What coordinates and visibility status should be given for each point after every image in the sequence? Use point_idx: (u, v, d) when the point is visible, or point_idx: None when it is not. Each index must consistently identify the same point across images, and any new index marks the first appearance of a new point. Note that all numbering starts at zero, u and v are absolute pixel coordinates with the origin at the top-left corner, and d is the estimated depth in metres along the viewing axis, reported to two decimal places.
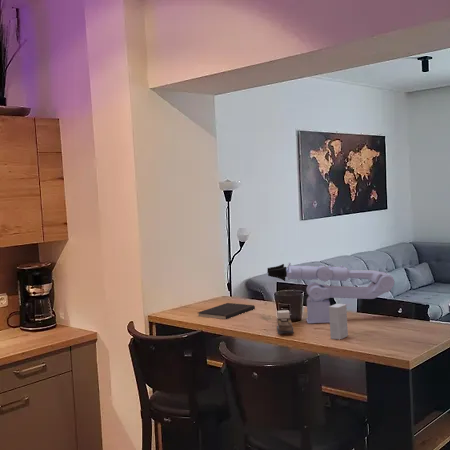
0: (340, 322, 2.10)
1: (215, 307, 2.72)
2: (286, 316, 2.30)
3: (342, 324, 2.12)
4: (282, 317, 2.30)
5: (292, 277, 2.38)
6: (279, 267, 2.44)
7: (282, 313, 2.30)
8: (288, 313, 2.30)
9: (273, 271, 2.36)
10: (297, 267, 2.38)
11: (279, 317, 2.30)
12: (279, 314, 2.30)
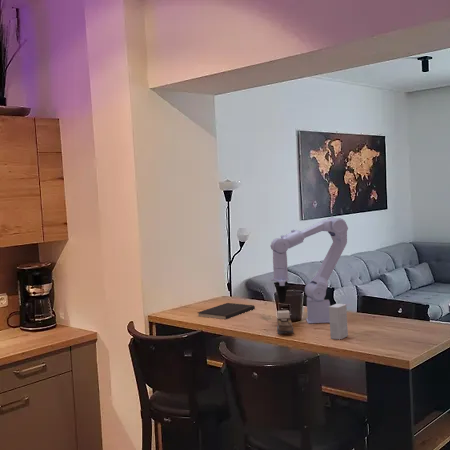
0: (340, 322, 2.10)
1: (215, 307, 2.72)
2: (286, 316, 2.30)
3: (342, 324, 2.12)
4: (282, 317, 2.30)
5: (285, 276, 2.35)
6: None
7: (282, 313, 2.30)
8: (288, 313, 2.30)
9: (280, 297, 2.35)
10: (275, 272, 2.36)
11: (279, 317, 2.30)
12: (279, 314, 2.30)
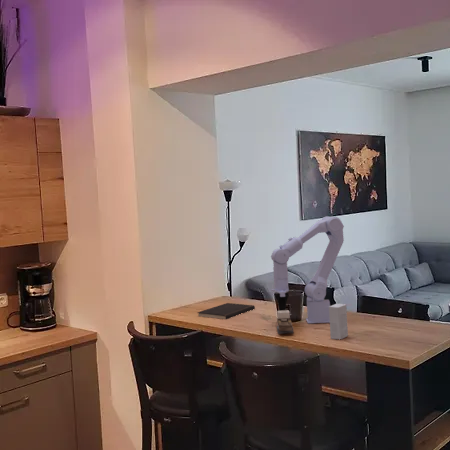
0: (340, 322, 2.10)
1: (215, 307, 2.72)
2: (286, 316, 2.30)
3: (342, 324, 2.12)
4: (282, 317, 2.30)
5: (286, 287, 2.35)
6: None
7: (282, 313, 2.30)
8: (288, 313, 2.30)
9: (280, 306, 2.37)
10: (275, 282, 2.36)
11: (279, 317, 2.30)
12: (279, 314, 2.30)
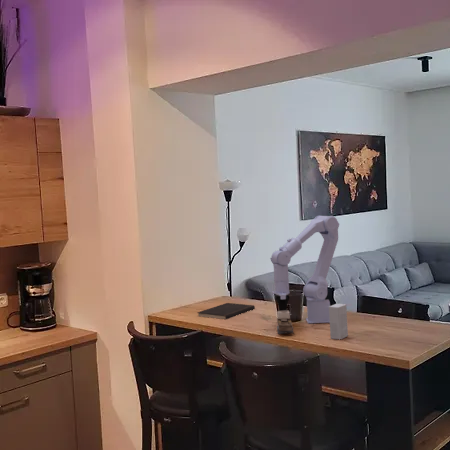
0: (340, 322, 2.10)
1: (215, 307, 2.72)
2: (286, 316, 2.29)
3: (342, 324, 2.12)
4: (282, 317, 2.29)
5: (286, 289, 2.32)
6: None
7: (282, 313, 2.29)
8: (288, 313, 2.29)
9: (280, 309, 2.33)
10: (276, 285, 2.32)
11: (279, 317, 2.29)
12: (279, 314, 2.29)
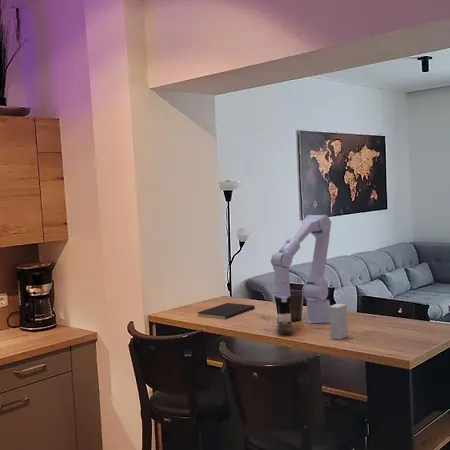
0: (340, 322, 2.10)
1: (215, 307, 2.72)
2: (287, 319, 2.24)
3: (342, 324, 2.12)
4: (283, 320, 2.24)
5: (287, 292, 2.26)
6: None
7: (283, 316, 2.24)
8: (289, 316, 2.24)
9: (281, 312, 2.28)
10: (276, 287, 2.27)
11: (280, 320, 2.24)
12: (280, 317, 2.24)
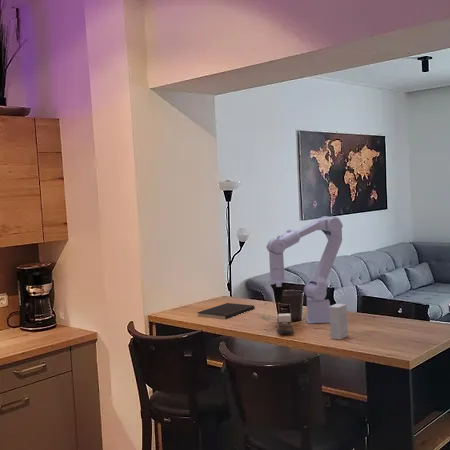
0: (340, 322, 2.10)
1: (215, 307, 2.72)
2: (287, 319, 2.24)
3: (342, 324, 2.12)
4: (283, 321, 2.24)
5: (282, 277, 2.33)
6: None
7: (283, 316, 2.24)
8: (289, 316, 2.23)
9: (276, 297, 2.35)
10: (271, 273, 2.34)
11: (280, 321, 2.24)
12: (280, 317, 2.24)
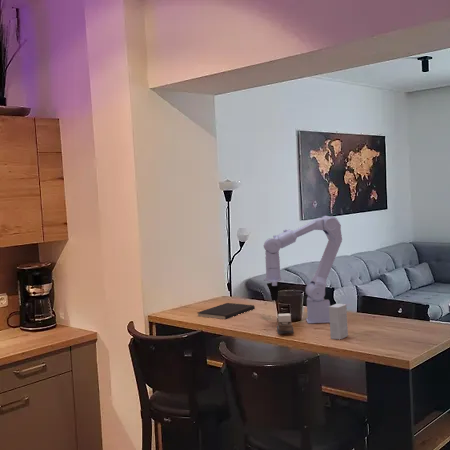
0: (340, 322, 2.10)
1: (215, 307, 2.72)
2: (287, 319, 2.24)
3: (342, 324, 2.12)
4: (283, 321, 2.24)
5: (277, 276, 2.36)
6: None
7: (283, 316, 2.24)
8: (289, 316, 2.23)
9: (272, 295, 2.38)
10: (267, 272, 2.37)
11: (280, 321, 2.24)
12: (280, 317, 2.24)
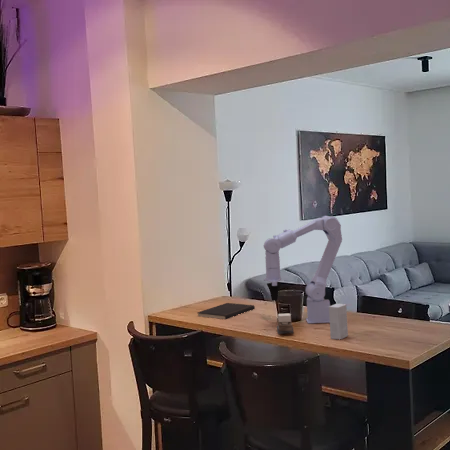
0: (340, 322, 2.10)
1: (215, 307, 2.72)
2: (287, 319, 2.24)
3: (342, 324, 2.12)
4: (283, 321, 2.24)
5: (277, 276, 2.36)
6: None
7: (283, 316, 2.24)
8: (289, 316, 2.23)
9: (272, 295, 2.38)
10: (267, 272, 2.37)
11: (280, 321, 2.24)
12: (280, 317, 2.24)
